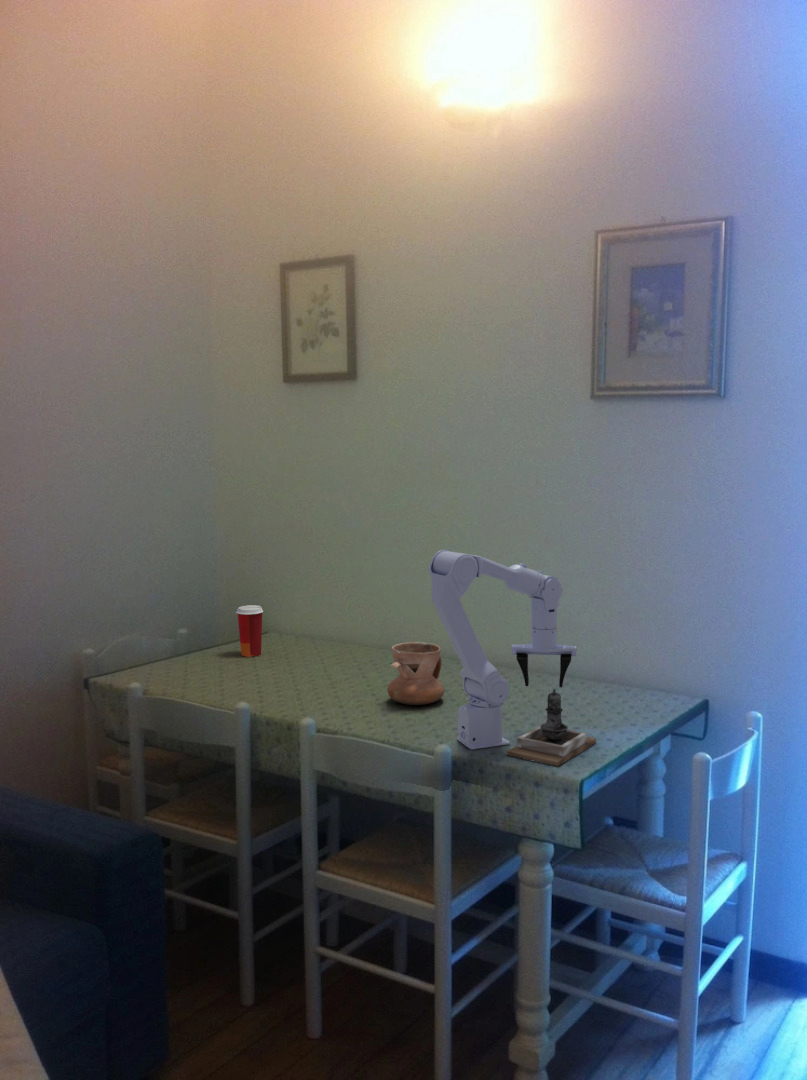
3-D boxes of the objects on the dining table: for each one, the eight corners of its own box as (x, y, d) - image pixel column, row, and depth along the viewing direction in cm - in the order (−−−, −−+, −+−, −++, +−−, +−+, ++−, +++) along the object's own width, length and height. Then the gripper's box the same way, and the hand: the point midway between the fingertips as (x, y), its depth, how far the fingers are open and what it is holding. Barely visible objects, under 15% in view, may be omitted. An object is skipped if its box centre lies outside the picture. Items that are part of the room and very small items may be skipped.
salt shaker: (538, 738, 212) (538, 685, 210) (565, 738, 212) (565, 684, 210) (542, 747, 206) (542, 692, 205) (569, 747, 206) (570, 692, 205)
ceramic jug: (413, 714, 234) (413, 656, 233) (372, 702, 245) (372, 647, 243) (461, 700, 247) (462, 645, 246) (420, 689, 257) (421, 637, 256)
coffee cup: (265, 651, 302) (264, 604, 301) (263, 657, 294) (262, 609, 293) (238, 652, 302) (237, 605, 300) (236, 658, 294) (234, 610, 292)
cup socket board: (557, 766, 197) (558, 752, 197) (506, 755, 204) (506, 741, 204) (595, 742, 211) (596, 729, 211) (547, 733, 219) (547, 720, 218)
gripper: (576, 624, 221) (576, 682, 223) (512, 623, 224) (513, 680, 225) (576, 630, 214) (576, 690, 216) (511, 629, 217) (511, 688, 218)
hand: (543, 685), depth 220 cm, fingers open, 7 cm apart
